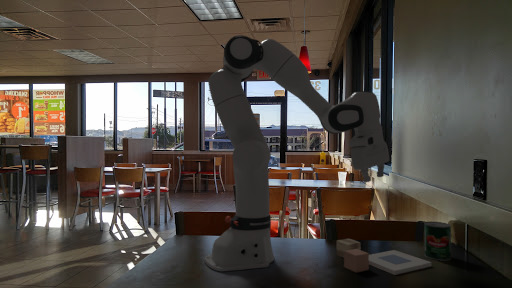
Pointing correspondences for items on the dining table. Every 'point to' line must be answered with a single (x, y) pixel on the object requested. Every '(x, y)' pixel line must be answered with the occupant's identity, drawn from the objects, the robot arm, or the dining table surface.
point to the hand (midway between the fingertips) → (374, 179)
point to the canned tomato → (437, 240)
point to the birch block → (347, 246)
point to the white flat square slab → (397, 262)
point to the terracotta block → (356, 260)
